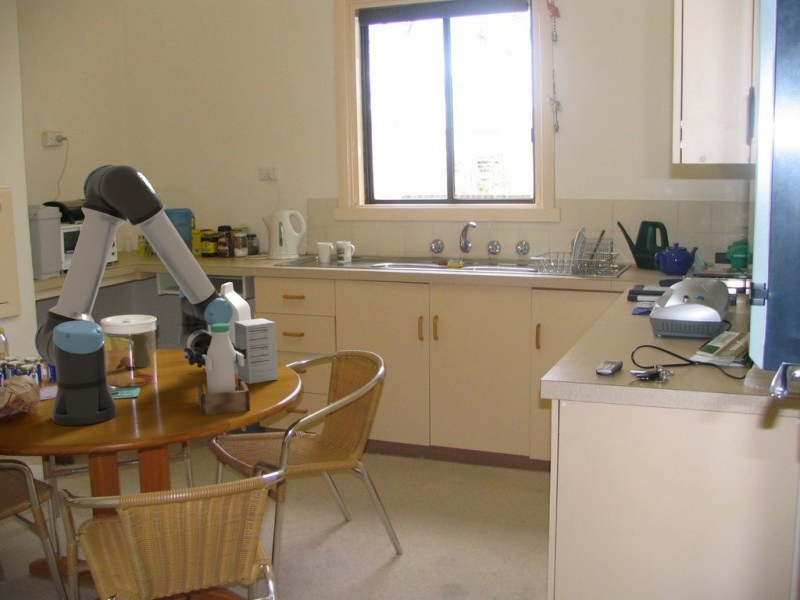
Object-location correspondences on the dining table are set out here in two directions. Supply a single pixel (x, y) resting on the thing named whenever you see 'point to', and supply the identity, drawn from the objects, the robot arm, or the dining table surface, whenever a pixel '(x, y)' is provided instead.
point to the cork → (141, 350)
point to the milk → (234, 309)
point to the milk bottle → (222, 361)
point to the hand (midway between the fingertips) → (226, 362)
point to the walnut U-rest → (224, 401)
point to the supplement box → (257, 350)
